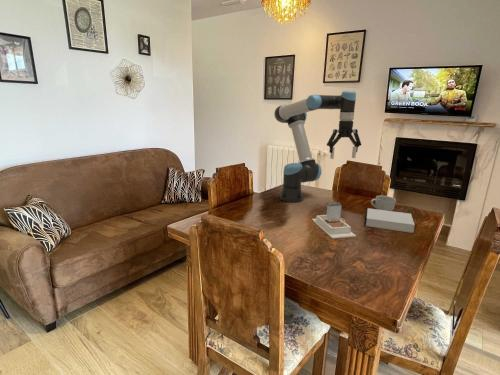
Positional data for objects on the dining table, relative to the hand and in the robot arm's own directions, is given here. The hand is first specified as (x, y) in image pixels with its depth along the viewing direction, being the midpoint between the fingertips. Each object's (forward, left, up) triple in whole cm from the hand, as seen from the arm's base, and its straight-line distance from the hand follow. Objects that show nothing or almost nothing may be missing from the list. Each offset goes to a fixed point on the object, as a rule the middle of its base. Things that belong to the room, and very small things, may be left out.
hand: (342, 158), depth 169 cm
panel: (-7, -30, -30) cm, 43 cm away
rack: (-7, -30, -31) cm, 43 cm away
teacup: (+25, +1, -31) cm, 40 cm away
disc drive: (+23, -19, -31) cm, 43 cm away
